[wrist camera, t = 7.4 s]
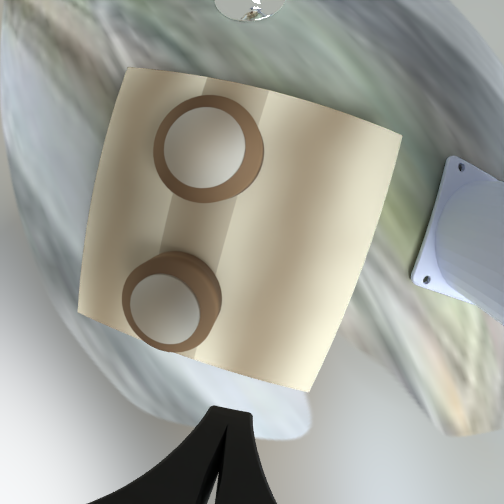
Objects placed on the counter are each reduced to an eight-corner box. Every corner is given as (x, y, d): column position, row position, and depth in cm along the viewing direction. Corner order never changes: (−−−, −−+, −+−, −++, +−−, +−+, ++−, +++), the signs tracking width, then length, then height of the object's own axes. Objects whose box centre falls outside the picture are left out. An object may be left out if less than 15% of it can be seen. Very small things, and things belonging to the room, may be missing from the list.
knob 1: (277, 129, 16) (274, 107, 11) (254, 207, 17) (242, 217, 12) (200, 111, 16) (168, 85, 11) (178, 186, 17) (138, 187, 12)
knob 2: (241, 253, 18) (224, 280, 13) (221, 322, 18) (200, 368, 14) (167, 230, 18) (126, 248, 13) (153, 299, 19) (114, 335, 14)
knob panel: (383, 142, 16) (402, 135, 13) (306, 364, 19) (308, 392, 16) (149, 82, 16) (127, 67, 13) (102, 296, 19) (77, 312, 16)
